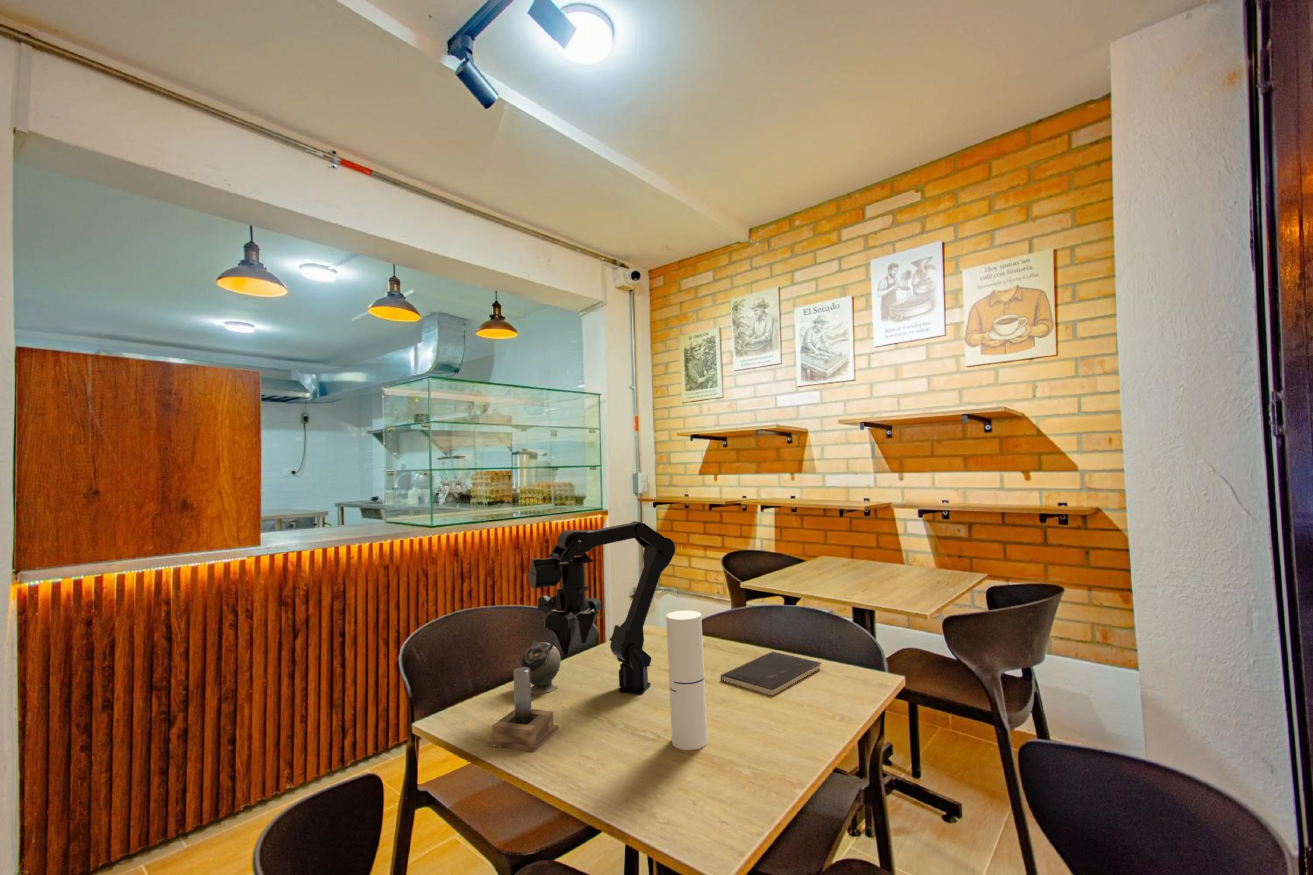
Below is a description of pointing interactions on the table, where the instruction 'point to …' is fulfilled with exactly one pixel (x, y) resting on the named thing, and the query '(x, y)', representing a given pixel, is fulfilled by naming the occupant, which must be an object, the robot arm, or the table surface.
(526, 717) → the steel pin
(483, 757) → the table surface
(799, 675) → the hardcover book
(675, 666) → the cylindrical container
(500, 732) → the socket board
